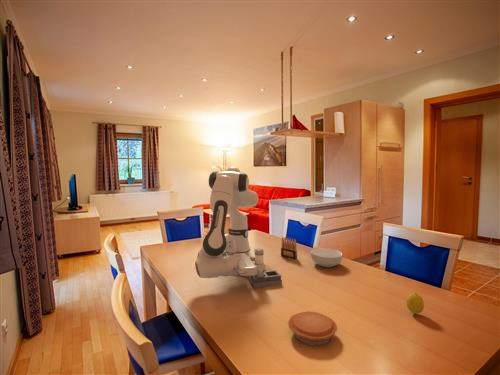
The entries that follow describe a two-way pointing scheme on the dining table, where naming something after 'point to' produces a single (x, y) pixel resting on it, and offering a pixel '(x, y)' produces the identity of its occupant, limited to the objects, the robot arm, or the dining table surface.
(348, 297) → the dining table surface
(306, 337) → the pie
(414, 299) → the lemon
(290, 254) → the ammunition clip
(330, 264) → the cereal bowl
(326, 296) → the dining table surface
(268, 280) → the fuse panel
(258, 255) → the fuse
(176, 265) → the dining table surface
